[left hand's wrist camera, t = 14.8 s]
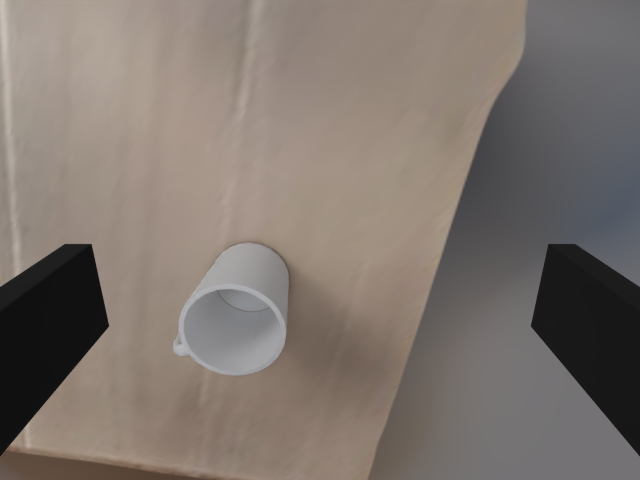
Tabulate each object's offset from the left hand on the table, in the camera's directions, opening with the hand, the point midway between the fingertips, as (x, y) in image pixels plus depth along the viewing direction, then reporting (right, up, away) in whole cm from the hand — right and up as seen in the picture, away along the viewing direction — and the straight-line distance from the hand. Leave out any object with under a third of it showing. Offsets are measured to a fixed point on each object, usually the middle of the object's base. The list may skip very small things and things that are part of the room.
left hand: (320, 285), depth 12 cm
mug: (-8, -3, +33) cm, 34 cm away
